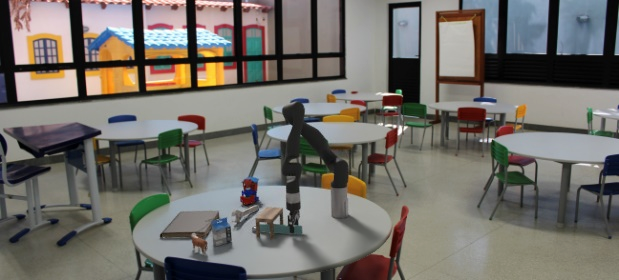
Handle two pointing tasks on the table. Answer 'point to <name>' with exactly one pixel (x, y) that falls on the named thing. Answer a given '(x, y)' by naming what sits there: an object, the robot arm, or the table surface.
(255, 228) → the puck
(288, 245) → the table surface
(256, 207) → the wrench
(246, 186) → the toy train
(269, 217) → the bench
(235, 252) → the table surface
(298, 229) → the long teal stick
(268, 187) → the table surface
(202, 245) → the bull figurine
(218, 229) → the label tape box
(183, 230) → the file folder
